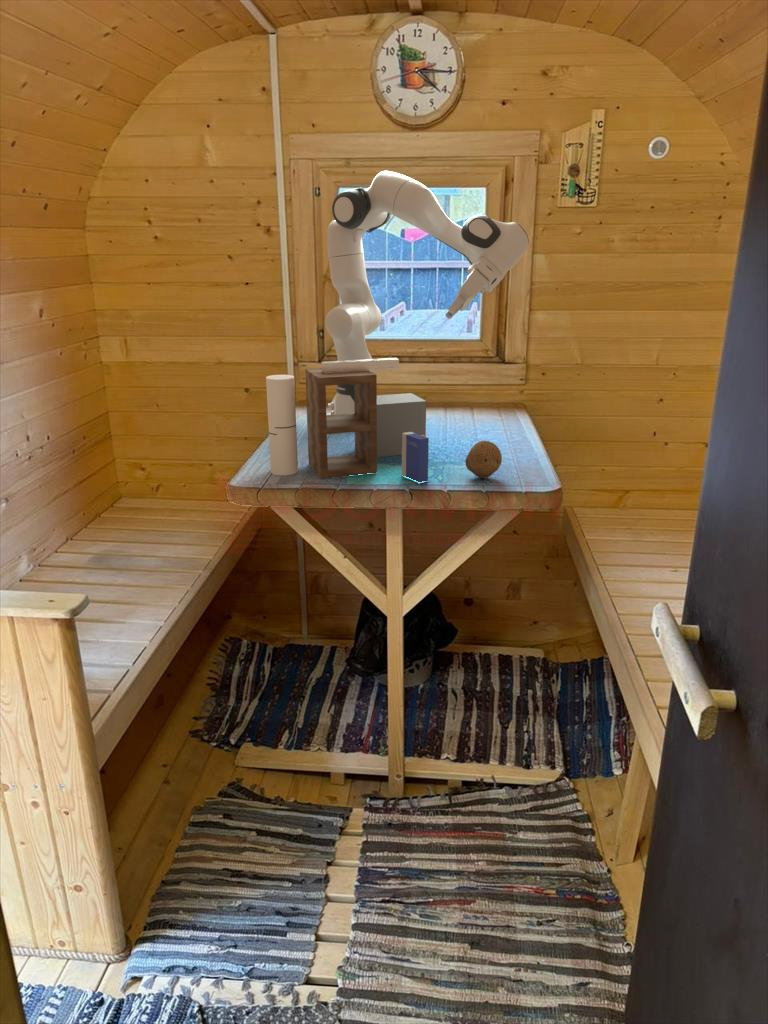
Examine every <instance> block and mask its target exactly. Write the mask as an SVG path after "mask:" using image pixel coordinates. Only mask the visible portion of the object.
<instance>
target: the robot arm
mask: <svg viewBox="0 0 768 1024" xmlns="http://www.w3.org/2000/svg"><path fill="white" fill-rule="evenodd" d="M331 214H332V216H333V220H332V221H331V222H330V223H329V224H328V226H327V232H326V236H327V237H326V241H327V242H326V243H327V245H326V246H327V247H326V248H327V258H328V263H329V264H328V265H329V272H330V280H331V284H332V286H333V288H334V289H335V290H336V292H337V295H338V296H339V298H340V299H339V300H340V301H341V304H338V305H336V306H335V307H333V308H332V309H330V311H328V313H327V314H326V316H325V321H324V322H325V323H324V325H325V329H326V331H327V333H328V334H329V336H330V337H331V338H332V341H333V344H334V345H333V346H334V348H335V353H336V357H337V360H336V361H343V360H362V359H373V358H372V355H371V353H370V351H369V350H368V345H367V342H366V336H368V335H371V334H372V333H374V332H375V331H377V329H378V328H379V327H380V325H381V323H382V318H383V317H382V312H381V309H380V308H379V307H378V305H377V304H376V303H375V300H374V297H373V293H372V291H371V287H370V285H369V281H368V275H367V269H366V267H367V266H366V261H365V255H364V253H365V252H364V247H363V237H364V234H365V233H368V234H369V233H372V232H374V231H375V230H377V229H380V228H381V227H383V226H384V225H385V224H387V223H388V222H389V221H390V220H391V218H392V216H394V217H395V218H398V219H400V220H402V221H403V222H406V223H408V224H410V225H412V226H413V227H416V229H417V228H418V229H419V230H421V231H423V232H425V233H426V234H428V235H430V236H431V237H434V238H435V239H437V241H439V242H441V243H443V244H445V246H447V247H449V248H450V249H452V250H454V251H456V252H458V254H461V255H462V256H464V258H466V260H467V261H468V263H469V264H470V266H469V267H468V269H467V274H468V275H467V276H466V280H465V281H464V282H463V284H462V285H461V287H460V288H459V290H458V292H457V295H456V296H455V298H454V301H453V302H452V303H451V305H450V306H449V307H448V311H447V312H446V314H445V318H447V319H448V320H452V318H453V316H455V315H456V314H457V313H458V312H459V311H460V312H463V311H465V309H466V308H467V307H468V306H469V305H470V304H471V303H472V302H473V300H474V299H475V298H476V296H478V295H479V293H480V294H485V292H486V293H491V292H492V291H493V290H494V289H495V288H496V287H497V286H498V285H499V283H500V282H501V281H502V280H503V279H505V276H506V274H507V273H508V271H510V270H511V269H513V268H514V267H515V266H516V265H517V263H519V261H520V260H521V259H522V258H523V256H524V255H525V253H527V250H528V249H529V247H530V241H529V237H528V234H527V232H526V230H525V229H524V228H523V227H522V226H521V224H519V223H517V222H515V221H512V222H503V221H499V220H497V219H493V218H491V217H489V216H488V215H486V214H481V213H480V214H475V215H472V216H471V217H469V218H468V219H467V220H466V221H464V223H463V224H462V226H460V225H459V224H457V223H456V222H454V221H453V220H452V219H450V218H449V216H448V215H447V214H446V213H445V211H444V210H443V208H442V207H441V205H440V203H439V201H438V200H437V197H436V196H435V194H434V193H433V192H432V190H430V188H428V187H427V186H426V185H424V183H421V182H419V181H418V180H415V179H414V178H411V177H409V176H406V175H405V174H402V173H398V172H395V171H389V170H383V171H380V172H379V173H377V174H376V176H375V177H374V178H373V180H372V182H371V185H370V186H369V187H368V188H363V187H357V188H350V189H346V190H344V191H342V192H340V193H338V194H337V195H336V196H335V198H334V199H333V202H332V205H331ZM371 372H373V371H371ZM335 388H336V391H335V392H336V394H335V395H334V397H333V399H332V401H331V402H328V403H327V410H328V411H330V412H329V413H326V415H337V414H351V413H355V409H354V384H345V385H335Z"/></svg>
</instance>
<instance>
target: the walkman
mask: <svg viewBox="0 0 768 1024" xmlns="http://www.w3.org/2000/svg"><path fill="white" fill-rule="evenodd" d="M429 443H430V442H429V437H428V436H427V435H426V436H424V435H419V434H416V433H413V432H406V433H402V455H401V476H402V475H403V476H406V477H409V478H411V479H413V480H416V481H418V482H422V481H429V476H428V475H429V445H430V444H429Z"/></svg>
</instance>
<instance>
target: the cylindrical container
mask: <svg viewBox="0 0 768 1024" xmlns="http://www.w3.org/2000/svg"><path fill="white" fill-rule="evenodd" d="M265 383H266V384H265V387H266V402H267V406H266V407H267V421H268V423H267V424H268V440H269V453H270V454H269V459H270V461H269V462H270V473H271V474H272V475H275V476H291V475H295V474H297V473H298V472H299V461H298V459H299V457H298V456H299V455H298V437H297V435H298V434H297V415H296V414H297V413H296V410H297V409H296V394H295V393H296V386H295V376H294V375H291V374H272V375H268V376H266V377H265Z"/></svg>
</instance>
